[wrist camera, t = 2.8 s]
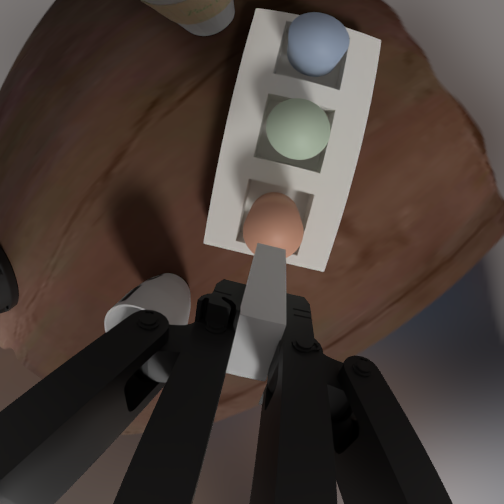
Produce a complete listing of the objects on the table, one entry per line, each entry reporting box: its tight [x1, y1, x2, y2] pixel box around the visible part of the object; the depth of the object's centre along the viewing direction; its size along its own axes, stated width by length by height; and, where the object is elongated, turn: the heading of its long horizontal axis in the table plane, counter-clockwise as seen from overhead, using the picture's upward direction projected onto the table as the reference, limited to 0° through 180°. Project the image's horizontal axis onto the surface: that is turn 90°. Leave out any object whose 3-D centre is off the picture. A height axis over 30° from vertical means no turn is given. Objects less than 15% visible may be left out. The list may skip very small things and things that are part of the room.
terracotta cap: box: [243, 192, 304, 258], centre depth 23 cm, size 5×5×5 cm
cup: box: [104, 273, 191, 332], centre depth 29 cm, size 8×8×10 cm
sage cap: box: [266, 98, 330, 160], centre depth 20 cm, size 5×5×5 cm
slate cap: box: [287, 12, 350, 77], centre depth 17 cm, size 5×5×5 cm
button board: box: [204, 8, 381, 272], centre depth 24 cm, size 12×24×4 cm, turn 168°
